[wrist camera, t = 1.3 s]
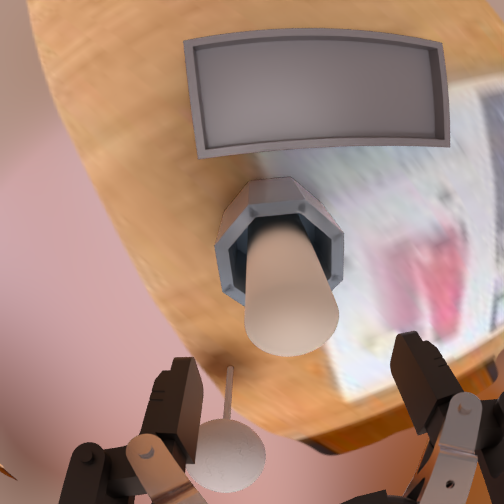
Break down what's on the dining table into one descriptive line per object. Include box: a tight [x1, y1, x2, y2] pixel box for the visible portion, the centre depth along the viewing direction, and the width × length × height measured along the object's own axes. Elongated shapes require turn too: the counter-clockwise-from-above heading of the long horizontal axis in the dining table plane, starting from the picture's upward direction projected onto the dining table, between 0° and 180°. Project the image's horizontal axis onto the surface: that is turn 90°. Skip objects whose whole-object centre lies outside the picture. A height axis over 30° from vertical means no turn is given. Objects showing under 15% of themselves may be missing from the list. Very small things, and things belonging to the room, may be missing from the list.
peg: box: [245, 213, 339, 357], centre depth 19 cm, size 4×4×12 cm
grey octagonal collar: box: [215, 177, 344, 306], centre depth 23 cm, size 8×8×7 cm
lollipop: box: [186, 366, 266, 493], centre depth 26 cm, size 7×7×15 cm
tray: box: [183, 28, 450, 159], centre depth 20 cm, size 20×9×2 cm, turn 96°
